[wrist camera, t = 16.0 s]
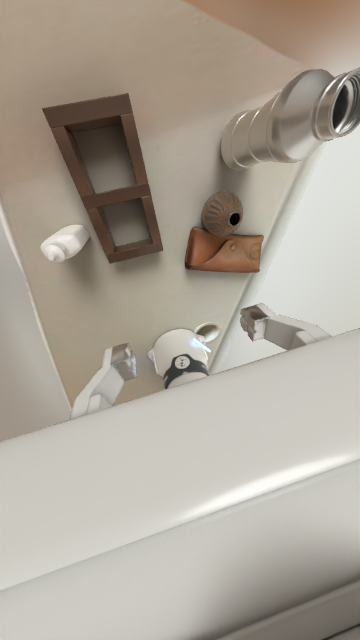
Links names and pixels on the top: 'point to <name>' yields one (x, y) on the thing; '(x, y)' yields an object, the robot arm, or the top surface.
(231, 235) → the sunglasses case
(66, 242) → the eye dropper bottle
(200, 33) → the top surface
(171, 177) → the top surface
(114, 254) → the stand
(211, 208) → the vase
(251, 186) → the top surface
